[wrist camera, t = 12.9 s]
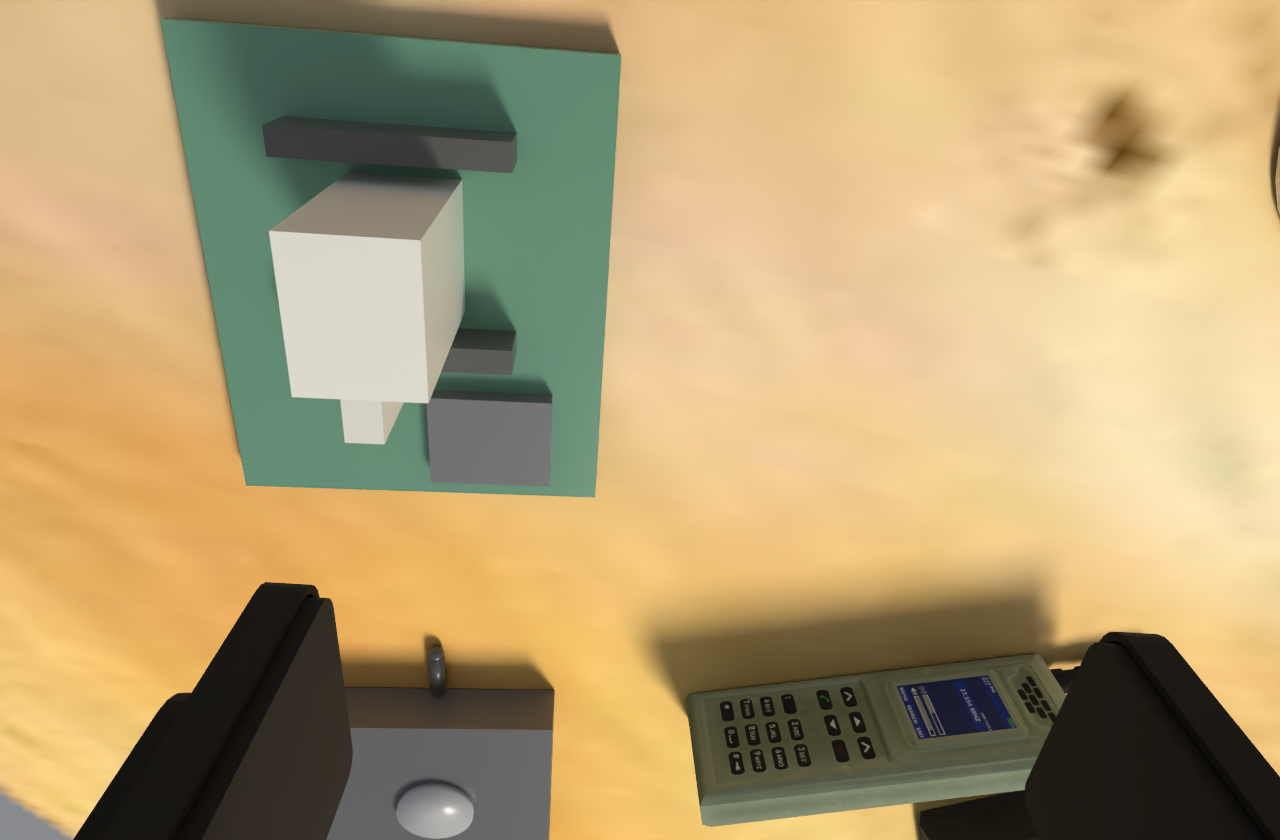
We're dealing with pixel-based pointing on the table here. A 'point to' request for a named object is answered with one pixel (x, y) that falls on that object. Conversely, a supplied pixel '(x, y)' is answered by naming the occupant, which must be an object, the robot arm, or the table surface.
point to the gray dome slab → (447, 763)
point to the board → (492, 226)
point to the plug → (371, 294)
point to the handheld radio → (872, 738)
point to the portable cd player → (980, 820)
